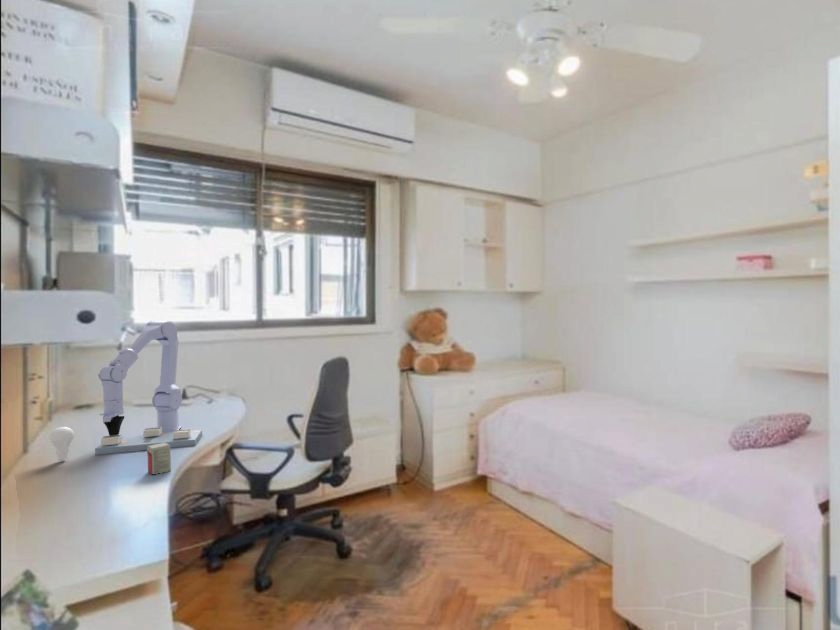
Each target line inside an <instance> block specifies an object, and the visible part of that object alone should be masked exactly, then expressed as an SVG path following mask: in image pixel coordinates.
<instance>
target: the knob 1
mask: <svg viewBox="0 0 840 630" xmlns="http://www.w3.org/2000/svg"><path fill="white" fill-rule="evenodd" d="M122 436H123V435H122V434H119V435H111V436H109V435H103V436H102V438H100V445H101V446H103V445H114V444H119V443H120V442H121V441H122Z"/></svg>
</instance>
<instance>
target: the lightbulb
mask: <svg viewBox="0 0 840 630" xmlns="http://www.w3.org/2000/svg"><path fill="white" fill-rule="evenodd" d="M74 437H75V434H74V430H73V429H72V428H70V427H68V426H60V427H57V428H55V429H54V430H53V431H51V433H50V436H49V440H50V443H51V444H52V446H53V447H54V449H55V453H56V456H57V461H60V462H65V460H68V458H69V457H68V456H69V455H68V454H69V450H70V446H71V443H72V442H73V440H74Z"/></svg>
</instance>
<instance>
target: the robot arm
mask: <svg viewBox="0 0 840 630" xmlns="http://www.w3.org/2000/svg"><path fill="white" fill-rule="evenodd" d="M154 340H155V341H157V342H158V343H159V344H160V345H161V346H162V349H161V361H160V362H161V363H160V364H161V367H160V376H159V377H160V378H159V385H158V386H157V387H156V388H155V389H154V393H153V396H152V399H151V402H152V403H151V404H152V406H153V407H154V408H155V410H156V414H157V415H156V416H157V417H156V418H157V420H156V423H157V424H156V427H162V433H168V432H174V430H179V429H180V428H181V429H182V426H181V425H180V415H179V414H180V413H179V409H180V406H181V405H182V404H183V397H182V396H183V395H182V389H181V388H180V387H179V386H178V385H177V384H176V383H177V370H178V369H177V368H178V366H177V365H178V353H179V352H178V350H179V339H178V326H177V325H176V324H175V323H174V322H173V321H171V320H167V321H166V320H164V321H163V320H162V321H159V320H158V321H154V320H151V321H149V322H147V324H146V325H145V326H143V328H142V332H141V333H140V334H139V335H138V337H136V339H135V340H134V342H132V344H131V345H130V346H129V348H124V349H121V350H120V351H118V355H117V356H116V357H114V359H113V360H111V361H110V362H109V363H108V365H104V366H103V367H102V368H101V369H100V371H99V373H98V379H99V380H100V381H101V386H102V389H103V390H102V391H103V393H102V394H103V395H102V397H103V398H102V399H103V400H102V401H103V412H100V413H99V416H102V423H103V424H104V426H105V427H106V429H107V432H108V436H111V435H120V431H121V425H122V423H123V422H124V419H125V416H124V415H123V414H125V410H124V395H123V394H124V391H123V390H124V388H123V387H124V386H123V383H124V382H123V380H125V379H126V377H127V374H128V371H129V369H130V368H131V367H132V366H133V364H135V362H136V361H137V360H138V359H139V355H138V354H140V352H142V350H143V349H144V348H145V347H147V346H148V345H149V343H150V342H152V341H154Z"/></svg>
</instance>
